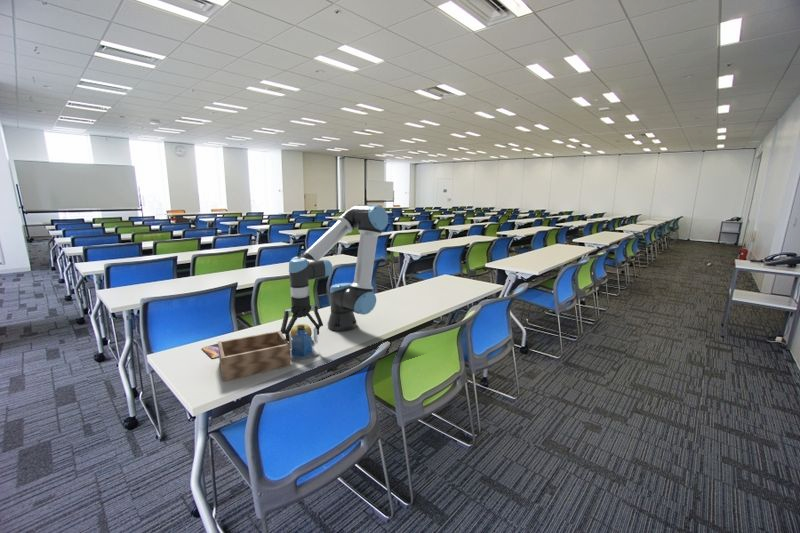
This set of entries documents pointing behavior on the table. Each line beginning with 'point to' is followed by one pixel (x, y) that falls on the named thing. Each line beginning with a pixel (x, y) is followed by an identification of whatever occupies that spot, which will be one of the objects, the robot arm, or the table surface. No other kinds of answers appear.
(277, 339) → the crate
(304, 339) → the perfume bottle
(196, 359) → the table surface
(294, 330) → the apple
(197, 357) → the table surface
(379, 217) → the robot arm
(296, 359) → the slate mat
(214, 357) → the smartphone
